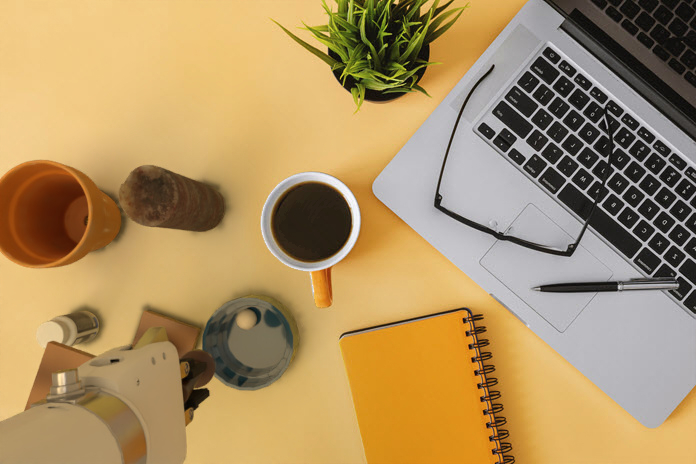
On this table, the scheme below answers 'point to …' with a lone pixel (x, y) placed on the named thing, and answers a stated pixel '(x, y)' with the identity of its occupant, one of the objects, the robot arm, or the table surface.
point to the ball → (246, 319)
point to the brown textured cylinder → (170, 200)
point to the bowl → (251, 343)
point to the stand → (69, 357)
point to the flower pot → (53, 215)
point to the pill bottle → (68, 329)
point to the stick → (201, 378)
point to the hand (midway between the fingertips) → (192, 380)
